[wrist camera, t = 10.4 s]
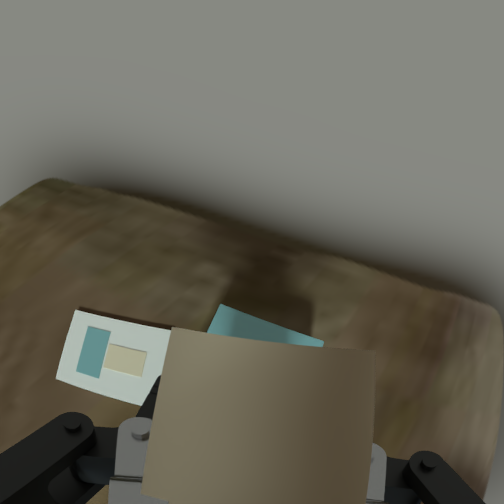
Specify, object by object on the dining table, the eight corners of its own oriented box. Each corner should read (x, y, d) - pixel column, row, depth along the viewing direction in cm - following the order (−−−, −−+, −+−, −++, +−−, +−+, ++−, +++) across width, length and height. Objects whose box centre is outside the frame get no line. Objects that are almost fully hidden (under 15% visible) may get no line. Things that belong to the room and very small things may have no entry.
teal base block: (185, 408, 23) (173, 402, 19) (222, 326, 27) (220, 303, 23) (277, 443, 22) (287, 446, 17) (309, 358, 26) (323, 341, 22)
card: (58, 379, 23) (55, 378, 22) (77, 311, 26) (75, 309, 26) (158, 409, 22) (156, 409, 22) (173, 332, 26) (172, 330, 26)
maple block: (195, 471, 12) (136, 522, 4) (208, 390, 15) (171, 326, 6) (286, 481, 12) (358, 540, 4) (295, 400, 15) (375, 350, 6)
